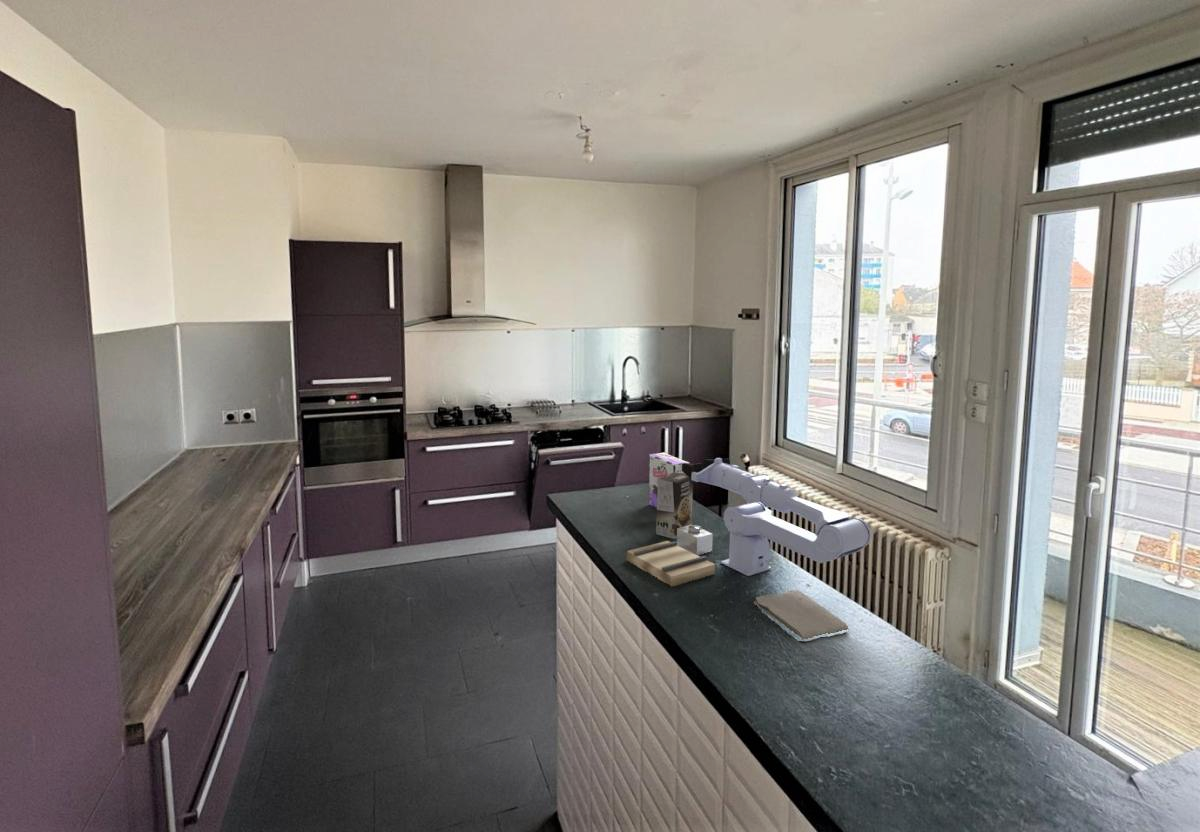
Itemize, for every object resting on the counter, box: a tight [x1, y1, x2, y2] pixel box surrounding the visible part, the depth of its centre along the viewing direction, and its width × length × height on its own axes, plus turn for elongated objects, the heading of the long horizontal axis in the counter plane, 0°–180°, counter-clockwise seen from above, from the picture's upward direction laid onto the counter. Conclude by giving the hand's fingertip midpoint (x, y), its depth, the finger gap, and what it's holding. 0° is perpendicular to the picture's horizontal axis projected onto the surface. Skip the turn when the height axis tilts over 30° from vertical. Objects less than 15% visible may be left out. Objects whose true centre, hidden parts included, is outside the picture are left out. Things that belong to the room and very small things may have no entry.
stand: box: [626, 540, 716, 587], centre depth 168 cm, size 18×13×3 cm
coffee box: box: [655, 472, 694, 540], centre depth 190 cm, size 9×6×16 cm
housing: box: [676, 524, 714, 556], centre depth 180 cm, size 8×5×6 cm, turn 33°
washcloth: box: [753, 589, 849, 640], centre depth 143 cm, size 12×18×3 cm, turn 21°
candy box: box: [648, 451, 690, 510], centre depth 210 cm, size 14×6×16 cm, turn 28°
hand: (694, 465), depth 182 cm, fingers open, 7 cm apart
